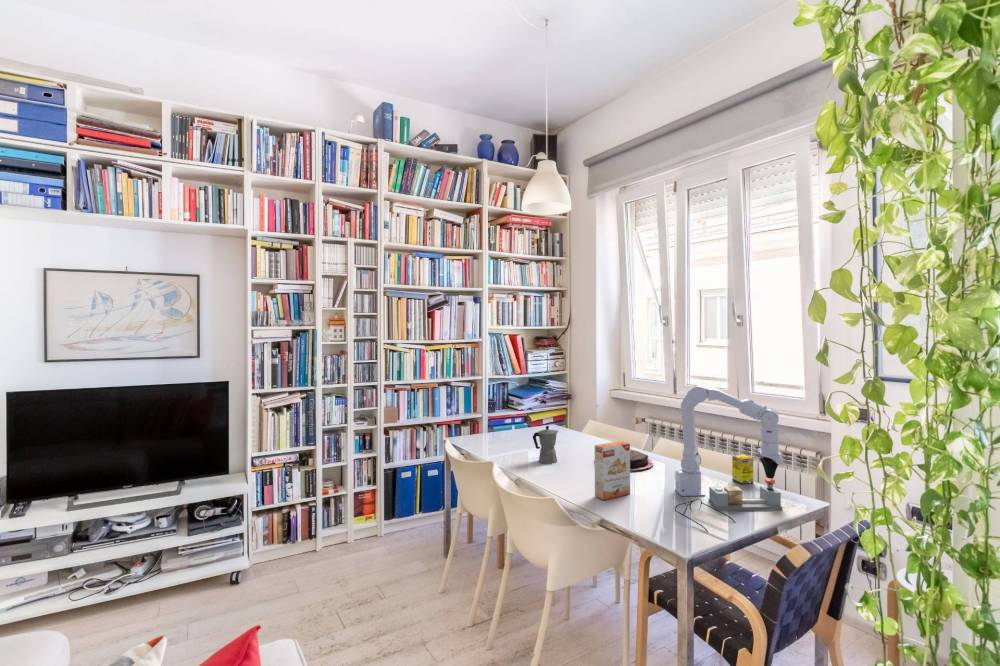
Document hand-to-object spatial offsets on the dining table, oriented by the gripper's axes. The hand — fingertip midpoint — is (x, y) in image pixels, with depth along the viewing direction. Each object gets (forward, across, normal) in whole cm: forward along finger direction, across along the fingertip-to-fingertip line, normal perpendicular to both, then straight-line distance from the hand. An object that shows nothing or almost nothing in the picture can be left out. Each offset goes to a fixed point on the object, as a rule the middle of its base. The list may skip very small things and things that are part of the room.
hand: (769, 477), depth 180 cm
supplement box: (+11, +26, -2) cm, 28 cm away
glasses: (+11, -13, +29) cm, 34 cm away
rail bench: (+10, 0, +10) cm, 14 cm away
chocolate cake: (+11, +55, +42) cm, 70 cm away
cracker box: (+11, +12, +56) cm, 58 cm away
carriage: (+9, 0, +14) cm, 16 cm away
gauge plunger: (+5, 0, 0) cm, 5 cm away
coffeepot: (+11, +59, +80) cm, 100 cm away
